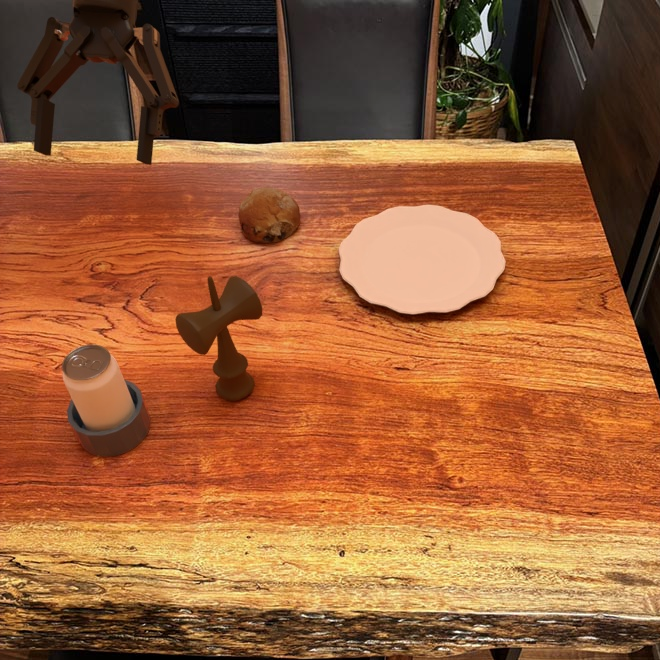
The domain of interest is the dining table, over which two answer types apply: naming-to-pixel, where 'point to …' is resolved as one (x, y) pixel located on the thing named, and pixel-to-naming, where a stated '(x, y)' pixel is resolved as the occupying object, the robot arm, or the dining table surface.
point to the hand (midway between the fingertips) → (92, 158)
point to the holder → (116, 438)
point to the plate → (421, 259)
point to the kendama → (223, 334)
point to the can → (97, 388)
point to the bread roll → (268, 215)
